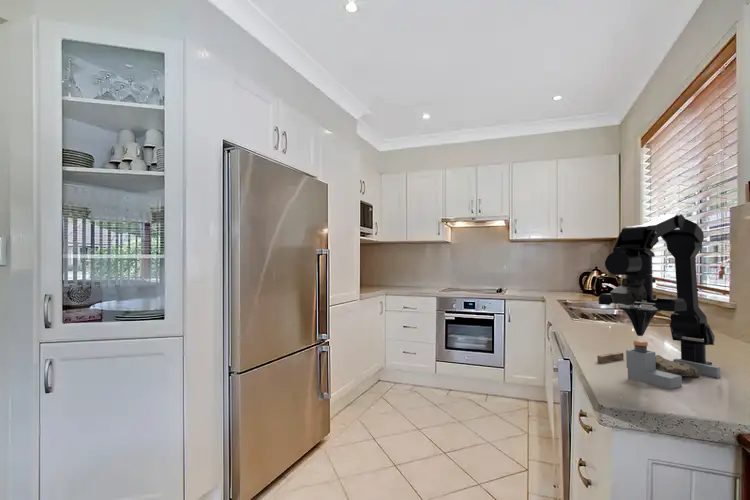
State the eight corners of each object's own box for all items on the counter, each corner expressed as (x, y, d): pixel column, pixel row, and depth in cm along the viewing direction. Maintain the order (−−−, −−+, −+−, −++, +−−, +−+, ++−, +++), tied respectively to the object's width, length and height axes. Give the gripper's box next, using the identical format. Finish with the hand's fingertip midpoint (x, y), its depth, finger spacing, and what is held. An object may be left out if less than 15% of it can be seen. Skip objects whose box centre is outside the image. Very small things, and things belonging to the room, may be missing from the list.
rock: (710, 382, 98) (710, 364, 98) (662, 382, 98) (661, 364, 98) (678, 369, 109) (678, 353, 109) (634, 369, 109) (634, 353, 110)
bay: (675, 367, 111) (675, 342, 111) (720, 377, 101) (719, 349, 102) (626, 377, 101) (626, 350, 101) (671, 389, 92) (670, 359, 92)
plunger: (638, 362, 102) (637, 340, 102) (650, 365, 100) (650, 342, 100) (631, 363, 101) (630, 341, 101) (643, 366, 98) (643, 343, 98)
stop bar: (619, 358, 121) (618, 352, 121) (623, 359, 119) (623, 353, 119) (597, 362, 116) (597, 355, 116) (602, 363, 115) (601, 356, 115)
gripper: (584, 274, 106) (585, 332, 105) (659, 276, 89) (661, 345, 88) (611, 273, 111) (612, 329, 110) (687, 275, 94) (688, 341, 93)
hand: (640, 335), depth 100 cm, fingers closed
